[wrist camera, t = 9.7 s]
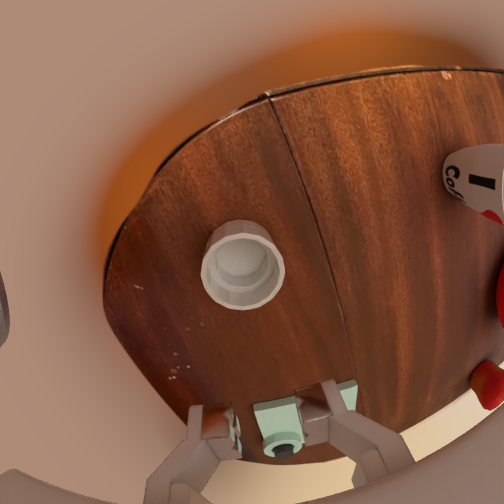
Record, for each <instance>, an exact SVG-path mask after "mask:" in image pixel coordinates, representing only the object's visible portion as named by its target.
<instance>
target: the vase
mask: <svg viewBox="0 0 504 504" xmlns="http://www.w3.org/2000/svg"><path fill="white" fill-rule="evenodd" d="M496 305H497V310H498V315H499V319H500V321H501V324H502V326H503V328H504V264H503V266H502V268H501V271H500V274H499V278H498V282H497V289H496Z"/></svg>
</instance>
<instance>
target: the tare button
mask: <svg viewBox="0 0 504 504" xmlns="http://www.w3.org/2000/svg"><path fill="white" fill-rule="evenodd" d="M274 454H275V457H276V458H279V459H284V458H288V457H291V456H292V455H293V454H294V451H293V447H292V444H281V445H278V446H275V447H274Z"/></svg>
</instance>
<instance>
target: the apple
mask: <svg viewBox="0 0 504 504" xmlns="http://www.w3.org/2000/svg"><path fill="white" fill-rule="evenodd" d="M470 387H471V388H472V389H473V391H474V392H475V393H476V395H477V397H478V399H479V401H480V403H481V405H482V407H483V408H484V409H487V410H492V409H494V408H496V407H497V406H498V405H500V404H501V403H502V402H503V401H504V370H503V369H501V368H500V367H498V366H497V365H496V364H495V363H494V362H493V361H484V362H482V363H481V364H480V365H478V366H477V367H476V369H475V370H474V371H473V373H472V375H471V383H470Z"/></svg>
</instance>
